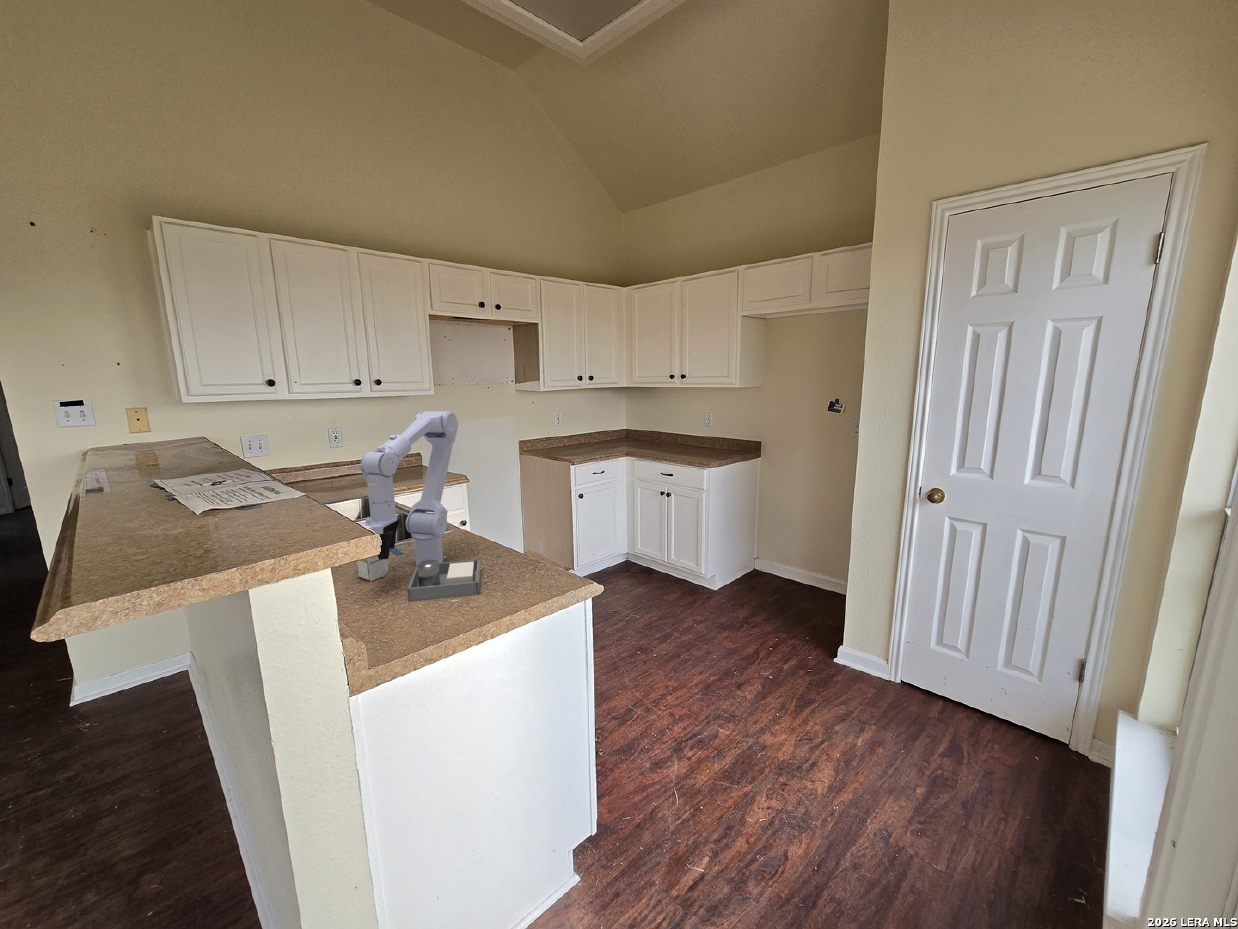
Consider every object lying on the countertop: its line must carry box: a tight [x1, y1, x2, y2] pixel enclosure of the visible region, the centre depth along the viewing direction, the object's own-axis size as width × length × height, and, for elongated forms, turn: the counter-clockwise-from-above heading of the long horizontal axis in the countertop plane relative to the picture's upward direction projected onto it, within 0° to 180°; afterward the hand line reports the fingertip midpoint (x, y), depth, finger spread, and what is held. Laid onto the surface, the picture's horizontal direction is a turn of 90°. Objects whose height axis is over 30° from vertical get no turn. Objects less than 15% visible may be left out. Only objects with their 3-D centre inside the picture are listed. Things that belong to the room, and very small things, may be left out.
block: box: [447, 562, 475, 584], centre depth 132 cm, size 10×6×4 cm, turn 13°
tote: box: [406, 558, 481, 602], centre depth 132 cm, size 16×16×4 cm
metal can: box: [417, 560, 440, 587], centre depth 130 cm, size 5×5×6 cm
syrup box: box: [355, 521, 389, 582], centre depth 139 cm, size 6×6×14 cm
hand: (386, 553), depth 130 cm, fingers open, 7 cm apart
